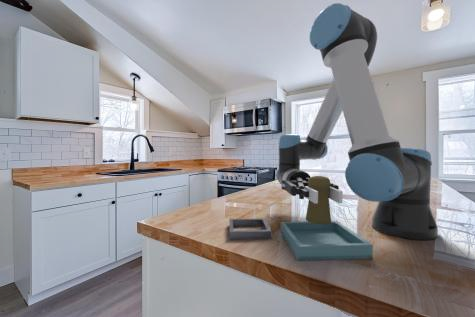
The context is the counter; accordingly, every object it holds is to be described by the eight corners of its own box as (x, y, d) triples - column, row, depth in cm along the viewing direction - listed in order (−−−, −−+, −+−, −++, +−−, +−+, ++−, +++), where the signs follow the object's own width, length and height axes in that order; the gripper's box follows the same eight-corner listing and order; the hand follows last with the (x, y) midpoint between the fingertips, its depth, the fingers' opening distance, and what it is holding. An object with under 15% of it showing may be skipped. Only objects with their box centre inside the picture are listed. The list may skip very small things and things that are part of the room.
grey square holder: (264, 224, 70) (264, 218, 70) (271, 238, 59) (271, 231, 59) (229, 225, 69) (229, 219, 69) (229, 239, 58) (229, 232, 58)
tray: (336, 231, 64) (336, 220, 64) (372, 258, 48) (372, 244, 48) (280, 232, 63) (280, 222, 63) (298, 260, 47) (298, 246, 47)
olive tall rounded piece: (333, 225, 52) (335, 178, 52) (306, 223, 54) (307, 177, 53) (328, 217, 58) (329, 175, 58) (304, 215, 59) (305, 174, 59)
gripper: (323, 192, 74) (367, 213, 51) (269, 192, 73) (288, 214, 50) (324, 169, 74) (368, 180, 50) (269, 169, 73) (289, 180, 50)
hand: (328, 197), depth 50 cm, fingers closed on olive tall rounded piece, 5 cm apart
